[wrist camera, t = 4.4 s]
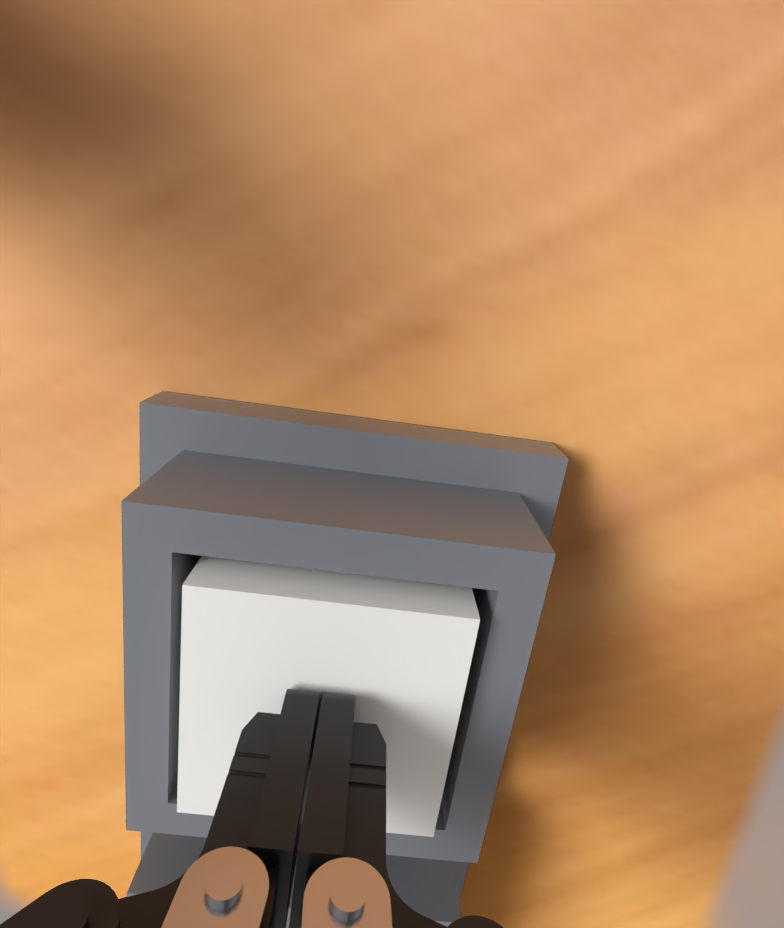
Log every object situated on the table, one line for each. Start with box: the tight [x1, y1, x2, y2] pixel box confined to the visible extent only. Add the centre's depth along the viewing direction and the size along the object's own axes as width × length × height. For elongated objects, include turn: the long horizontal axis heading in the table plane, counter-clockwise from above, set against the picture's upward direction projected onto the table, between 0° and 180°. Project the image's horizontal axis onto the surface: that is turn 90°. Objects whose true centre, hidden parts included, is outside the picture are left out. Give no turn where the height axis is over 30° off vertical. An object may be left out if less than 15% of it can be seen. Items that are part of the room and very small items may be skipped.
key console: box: [122, 391, 569, 928], centre depth 17 cm, size 22×11×5 cm, turn 172°
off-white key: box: [177, 556, 480, 837], centre depth 14 cm, size 6×6×3 cm
